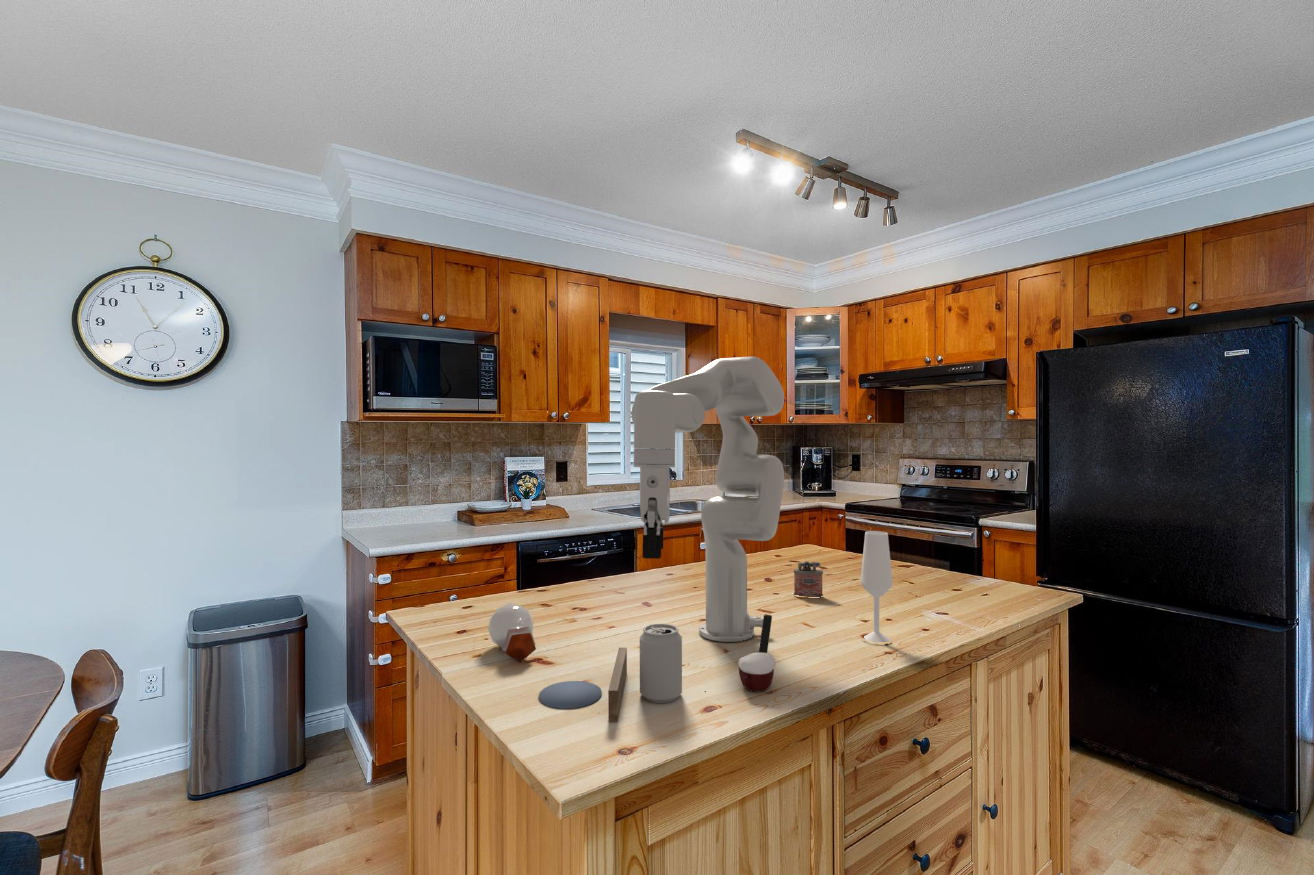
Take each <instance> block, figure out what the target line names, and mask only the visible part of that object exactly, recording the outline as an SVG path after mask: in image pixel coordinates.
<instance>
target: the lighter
mask: <svg viewBox="0 0 1314 875" xmlns="http://www.w3.org/2000/svg"><path fill="white" fill-rule="evenodd" d="M797 566H798V568H794V569H793V574H794V575H793V576H794V578H793V579H794V580H793V581H794V584H793V588H794V592H793V596H794V595H799V596H810V597H821V596H823V597H824V594H823V574H824V570H822V569H817V568H821V562H820V561H811V562H810V561H809V560H805V561H804V562H803V561H797Z"/></svg>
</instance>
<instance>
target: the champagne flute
mask: <svg viewBox="0 0 1314 875" xmlns="http://www.w3.org/2000/svg"><path fill="white" fill-rule="evenodd" d="M863 542H864V543H863V552H862V562H861V572H860V573H861V574H860V584H861V585H862V587H863V588H864V590H865V591H866V592H867V593H868V594H869V595H870V596H872V597H873V631H872V632H869V633H868V634H866V635H864V638H865V639H866V640H870V641H872V642H889V640H891V639H890V638H889V637H887V636H886V635H884V633H881V631H880V598H881V597H883V596H884V595H885V594H886V593H887V592H889V590H890V589H891V588H892V586H893V584H894V583H893V574H892V564H891V563H892V562H891V553H890V552H891V551H890V543H889V542H890V541H889V533H888V532H886V531H880V530H876V531H875V530H869V531H865V533H864V541H863Z"/></svg>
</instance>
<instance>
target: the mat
mask: <svg viewBox="0 0 1314 875" xmlns="http://www.w3.org/2000/svg"><path fill="white" fill-rule="evenodd" d="M602 692H603V691H602V688H600V686H598V685H597V684H595V683H593V682H588V681H582V680H566V681H560V682H556V683H552V684H549V685H548V686H546V687H544V688H542V689H541V691H539V694H538V700H539V701H541V702H542V703H541V704H543V705H544V706H546V705H547V707H549V708H553V707H554V709H564V710H566V709H567V710H570V709H578V708H583V707H587V706H590V705H592V704H594V703H596V702H598V701H599V700H600V698H601V697H602V695H603V693H602Z"/></svg>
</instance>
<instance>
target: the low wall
mask: <svg viewBox="0 0 1314 875" xmlns="http://www.w3.org/2000/svg"><path fill="white" fill-rule="evenodd" d="M627 653H628V648H627V647H618V651H617V654H616V659H615V661H614V662H615V663H614V666H613V671H612V674H611V678H610V683H609V687H608V699H607V700H608V715H607V716H608V721H607V722H610V723H612V721H614V722H613V723H615V722H616V723H617V722H619V718H620V712H621V707H622V702H623V696H624V690H625V685H626V680H627V675H628V657H627V656H628V654H627Z"/></svg>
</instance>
